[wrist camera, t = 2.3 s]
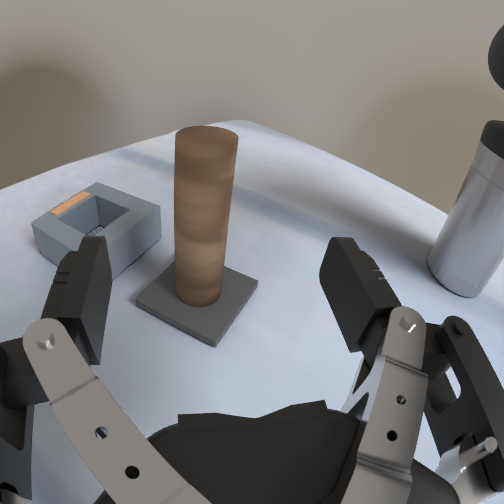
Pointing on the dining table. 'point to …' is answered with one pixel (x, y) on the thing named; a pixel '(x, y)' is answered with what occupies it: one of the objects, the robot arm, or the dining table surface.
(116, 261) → the socket block
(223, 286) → the pad
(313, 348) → the dining table surface
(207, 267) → the walnut peg
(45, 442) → the dining table surface
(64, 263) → the robot arm
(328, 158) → the dining table surface
